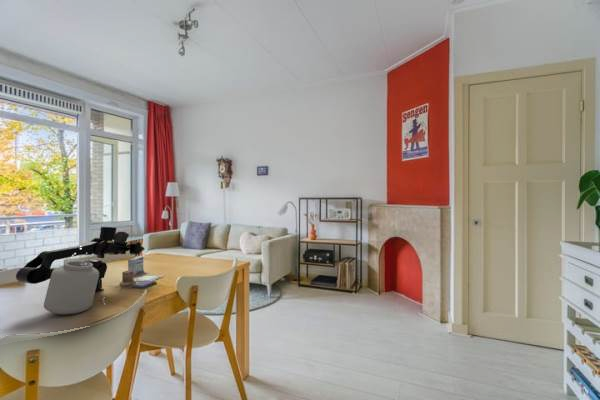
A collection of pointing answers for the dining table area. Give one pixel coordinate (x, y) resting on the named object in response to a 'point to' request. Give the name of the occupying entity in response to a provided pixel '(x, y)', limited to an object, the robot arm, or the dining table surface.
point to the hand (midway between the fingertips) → (137, 248)
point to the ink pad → (143, 284)
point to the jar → (71, 288)
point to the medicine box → (135, 265)
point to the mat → (148, 278)
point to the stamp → (127, 278)
